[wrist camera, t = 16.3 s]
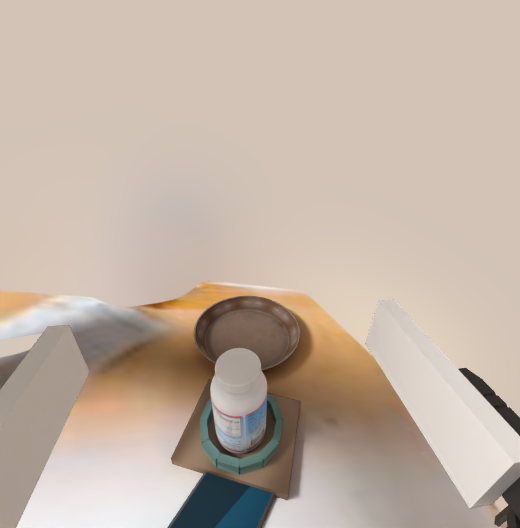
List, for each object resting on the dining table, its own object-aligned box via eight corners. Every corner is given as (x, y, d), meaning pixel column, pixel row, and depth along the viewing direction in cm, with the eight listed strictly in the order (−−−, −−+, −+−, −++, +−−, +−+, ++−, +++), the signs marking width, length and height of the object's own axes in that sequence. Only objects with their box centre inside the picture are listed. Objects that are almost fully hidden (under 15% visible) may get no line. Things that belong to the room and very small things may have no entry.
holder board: (172, 463, 31) (169, 451, 29) (209, 384, 39) (208, 372, 38) (287, 500, 28) (289, 488, 27) (299, 406, 37) (301, 393, 35)
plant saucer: (295, 309, 55) (297, 297, 53) (301, 388, 39) (304, 374, 38) (208, 304, 55) (207, 292, 54) (181, 380, 40) (178, 365, 39)
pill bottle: (257, 398, 36) (258, 336, 31) (272, 446, 31) (277, 382, 26) (211, 411, 35) (203, 348, 29) (220, 463, 30) (212, 400, 24)
